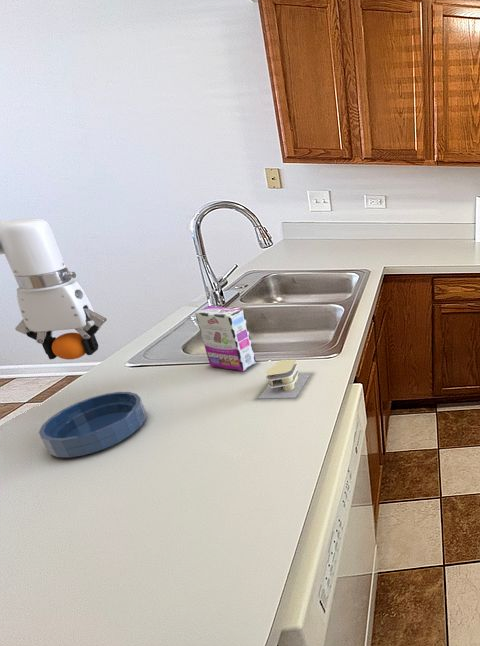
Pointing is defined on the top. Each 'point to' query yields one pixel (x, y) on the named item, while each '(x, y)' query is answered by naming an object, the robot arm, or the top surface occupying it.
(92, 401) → the bowl
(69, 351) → the orange
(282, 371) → the stacked layers on plate
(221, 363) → the candy bar box
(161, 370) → the top surface
